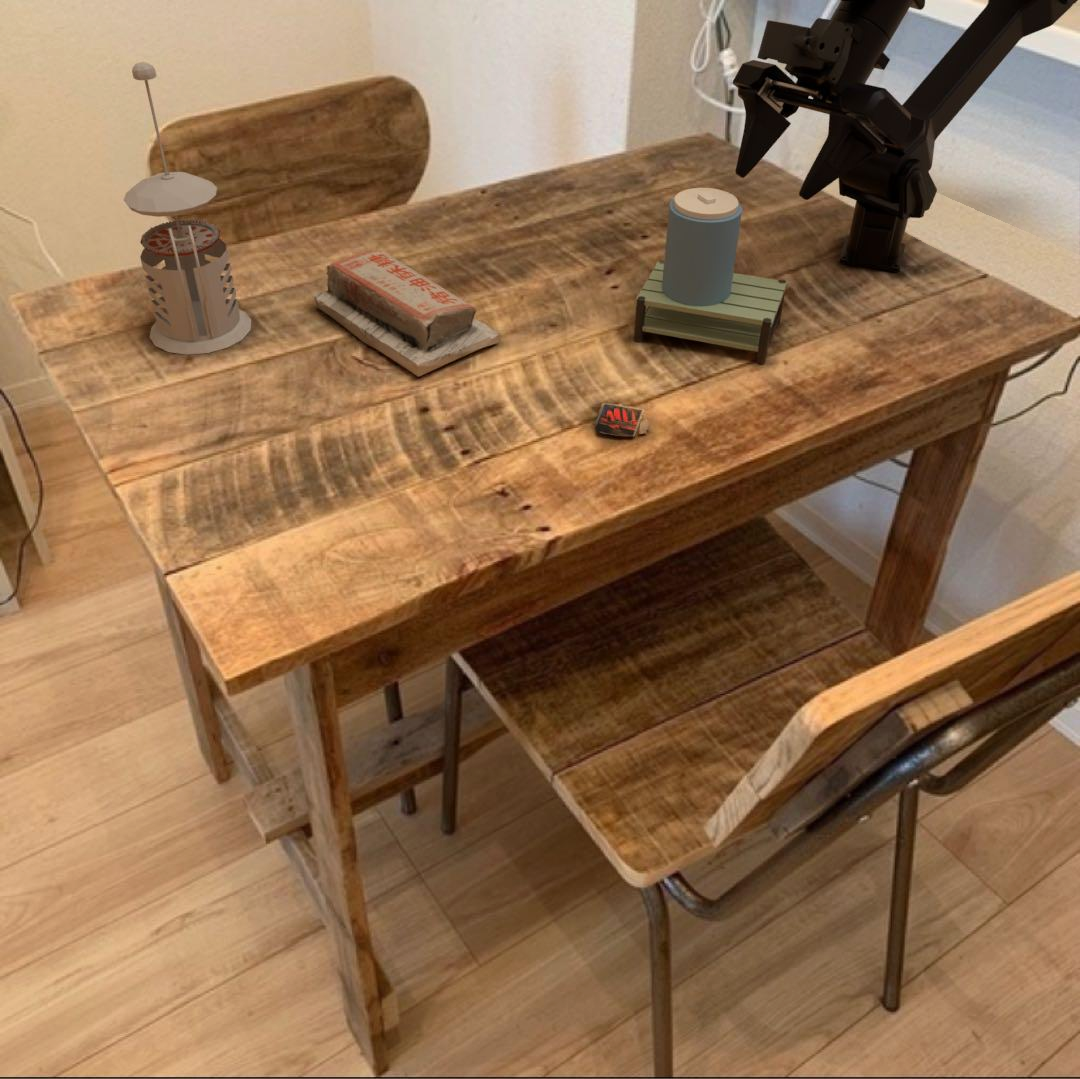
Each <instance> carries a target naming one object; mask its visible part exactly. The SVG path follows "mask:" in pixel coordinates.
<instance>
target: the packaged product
mask: <svg viewBox="0 0 1080 1079" xmlns="http://www.w3.org/2000/svg"><path fill="white" fill-rule="evenodd" d="M325 274H326V275H327V281H326V286H327V290H325V291H322V292H320V291H318V292H317V293H316V294H315V295H314V304H315V307H316V308H317V309H318V310H320V311H322V312H323V313H325V314H326V315H328V316H329V317H331V318H332V319H334V320H335V321H336V322H337V323H338V324H340V325H341V326H342V327H344V328H345V329H346V330H348V332H350V333H351V334H353V335H354V336H355V337H356V338H357V339H359V340H360V341H361V342H362V343H364V344H366V345H368V346H369V347H372V348H373V349H375V350H377V351H378V352H380V353H381V354H383V355H385V356H386V357H388V358H389V359H391V360H392V361H394V362H395V363H396V364H399V366H401V367H403V368H404V369H406V370H407V371H409V372H410V373H412V374H414V375H415V376H416V377H418V378H419V377H422V376H423V375H426V374H428V373H430V372H432V371H435V370H436V369H439V368H441V367H443V366H445V365H447V364H449V363H451V362H454V361H456V360H459V359H461V358H463V357H465V356H467V355H469V354H472V353H474V352H477V351H479V350H481V349H483V348H486V347H490V346H492V345H493V346H494V345H496V344H498V343H499V341H500V332H499V331H496V330H494V329H492V328H490V327H489V326H488V324H485V323H484V322H482V321H480V320H478V319H475V315H476V313H477V309H476V308H475V307H474V306H473V305H471V304H470V303H469V302H467V301H466V300H464V299H462V298H460V297H459V296H457V295H455V294H454V293H452V292H451V291H449V290H448V289H446V288H444V287H442V286H441V285H439V284H438V283H436V282H434V281H432V280H430V279H429V278H428V277H426V276H424V275H423V274H420V273H419V272H418V271H416V270H414V269H413V268H411V267H409V266H408V265H406V264H404V263H403V262H401V261H400V260H398V259H396V258H395V257H393V256H391V255H390V254H388V253H387V252H385V251H382V250H377V249H365V250H364V251H362V252H357V253H356V254H352V255H351V256H346V257H343V258H342V259H339V260H337V261H333V262H331V263H329V265H328V264H327V266H326V273H325Z"/></svg>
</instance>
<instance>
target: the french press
mask: <svg viewBox="0 0 1080 1079" xmlns="http://www.w3.org/2000/svg"><path fill="white" fill-rule="evenodd" d="M131 73H132V77H133V80H135V81H144V84H145V88H146V93H147V98H148V102H149V106H150V111H151V116H152V120H153V124H154V129H155V132H156V137H157V143H158V147H159V152H160V155H161V161H162V164H163V169H164V172H159V173H157V174H153V175H152V176H151V175H150V176H148V177H146V178H143V179H141V180H140V181H138V183H136V184H135V185H133V187H131V188H130V189H129V190H127V192H125V195H124V198H123V201H124V203H125V205H126V206H127V207H128V209H130V211H132V212H134V213H137V214H139V215H142V216H150V217H156V218H157V217H158V218H159V217H162V218H163V217H175V220H173V221H170V220H169V221H166V222H162V223H160V224H157V225H155V226H153V227H152V226H151V227H150V228H149V229H148V230H147V231H145V232H144V233H143V234H141V238H140V242H139V243H140V245H142V247H143V249H142V251H141V254H140V256H139V258H140V263H141V266H142V270H143V271H144V272H145V273H146V274H147V275H144V278H145V282H146V284H147V285H148V286H149V287H148V288H147V290H148V293H149V294H148V295H149V296H150V297H151V300H150V302H151V306H152V308H153V310H155V311H153V315H154V318H155V323H154V324H153V325H152V326H151V328H150V333H149V339H150V340H151V342H152V343H153V345H154V346H155V347H157V348H159V349H161V350H163V351H166V352H167V353H174V354H179V355H180V354H181V355H188V356H189V355H201V354H209V353H210V354H211V353H213V352H218V351H220V350H223V349H224V350H225V349H227V348H230V347H232V346H233V345H235V344H237V343H239V342H240V341H242V340H244V339H245V337H246V336H247V335H248V334H249V333H250V332H251V330H252V319H251V318H250V317H249V315H248V314H247V313H246V311H244V310H242V309H240V307H239V301H238V299H237V298H236V297H237V291H236V287H235V286H234V283H235V282H234V276H233V275H231V273H232V266H231V263H230V262H229V258H230V255H229V250H228V245H227V243H226V242H225V241H223V239H221V238H220V235H221V230H220V229H219V228H218V227H217V226H216V225H215V224H213V223H210V222H208V221H205V220H199V219H197V220H196V219H189V218H188V219H187V220H186V219H183V220H182V219H180V220H179V216H181V215H187V214H190V213H193V212H196V211H198V210H200V209H202V208H205V207H206V206H207V205H208V204H210V203H211V202H212V201H213V200H214V199H215V197H216V196H217V191H218V187H217V186H216V185H215V183H213V182H212V181H210V180H208V179H205V178H203V177H200V176H198V175H195V174H191V173H188V172H186V171H185V172H184V171H169V170H168V166H167V162H166V158H165V153H164V149H163V144H162V140H161V135H160V130H159V126H158V121H157V117H156V113H155V108H154V104H153V99H152V95H151V94H152V93H151V90H150V85H149V81H150V80H153V79H155V78H157V75H158V74H157V71H156V69H155V67H154V65H152V64H151V63H149V62H146V61H141V62H136V63H135V64H134V65H133V66H132V69H131ZM168 171H169V172H168ZM205 255H207V256H210V257H213V258H217V259H216V260H215V259H214V261H211V260H208V259H206V256H205ZM163 261H164V266H163V267H162V268H157V267H156V266H157V265H159V264H160V263H162V262H163ZM224 271H225V273H224V274H225V275H222V273H223V272H224ZM155 281H156V282H157V283H158V284H157V285H156V284H154V282H155ZM227 283H229V284H228V286H227V287H225V286H226V284H227ZM156 294H159V295H160V297H158V296H157V295H156ZM229 295H231V296H230V298H228V297H229ZM159 306H161V307H162V309H161V308H160V307H159Z"/></svg>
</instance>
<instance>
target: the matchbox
mask: <svg viewBox="0 0 1080 1079" xmlns="http://www.w3.org/2000/svg"><path fill="white" fill-rule="evenodd" d="M644 413H645V409H644V408H638V407H634V406H626V405H623V404H622V403H619V404H616V403H615V404H614V403H606V402H603V403H601V404H600V409H599V410H598V414H597V415H598V416H597V418H596V419H595V422H594V423H595V432H596V433H601V434H605V435H611V436H616V437H635V435H636V434H638V435H643V434H647V433H648V431H650V430H651V429H650V428H651V427H650V421H649V419H648V418H645V419H644V420H642V419H643V415H644ZM647 430H648V431H647ZM604 437H606V436H604ZM609 438H610V439H612V437H609Z"/></svg>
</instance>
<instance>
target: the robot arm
mask: <svg viewBox="0 0 1080 1079" xmlns="http://www.w3.org/2000/svg"><path fill="white" fill-rule="evenodd" d="M1077 2H1078V0H987V4H986V5H985V7H983V8H984V9H983V10H982V11H981V12H979V14H978V16H977V17H976V18H974V20H973V21H972V23H970V25H969V26H968V27H967V28H966V29H965V30H964V32H963V33H962V34H961V35H960V36H959V38H958V39H957V40H956V41H955V42H954V44H952V46H951V47H950V48H949V49H948V50H947V52H946V53H945V54H944V55H943V57H941V59H940V60H939V61H938V62H937V64H936V65H935V66H934V67H933V68H932V70H931V71H930V72H928V74H927V75H926V76H925V77H924V78H923V80H922V81H921V82H920V83H919V84H918V86H917V87H916V88H915V89H914V91H913V92H912V93H911V94H910V95H909V96H908V97H907V99H906V100H905V101H904V102H903V103H901V102H899V101H898V100H897V99H896V98H895V97H894V96H893V94H891V93H890V91H888V89H886V88H885V87H881V86H876V85H872V84H867V81H868V80H869V78H870V76H871V75H872V73H873V71H874V70H875V69H878V70H882V71H885V69H886V67H887V66H888V65H889V62H890V60H891V58H889V57H888V55H886V53H884V52H885V50H886V49H887V47H888V45H889V44H890V42H891V40H892V38H893V37H894V35H895V33H896V32H897V30H898V28H899V26H900V25H901V23H902V22H903V20H904V18H905V17H906V14H907V13H908V11H909V10H910V9H914V10H919V11H921V10H923V9H924V8H925V6H926V0H839V3H838V5H837V6H836V8H835V10H834V12H833V14H832V15H831V17H830V18H821V17H818V18H816V19H815V20H814V22H813V23H812V25H811V26H810V27H808V26H802V25H799V24H792V23H787V22H781V21H774V20H769V19H768V20H767V21H766V24H765V27H764V32H763V35H762V39H761V43H760V45H759V49H758V53H757V57H756V58H757V59H759V60H756V59H752V60H751V59H750V60H749V61H746V62H743V63H741V66H740V67H739V69H738V71H737V73H736V75H735V77H734V78H733V80H732V85H733V86H734V87H736V88H737V96H738V97H739V98H740V100H742V103H743V106H744V111H745V119H744V126H743V133H742V137H741V142H740V147H739V152H738V156H737V161H736V166H735V170H734V172H735V174H736V175H737V176H738V177H739V178H742V179H744V178H745V177H747V175H749V173H751V171H753V170H754V168H755V167H756V166H757V165H758V164H759V163H760V161H761V160H762V159H763V158H764V157H765V156H766V155H767V153H768V152H769V151H770V150H771V149H772V147H773V146H774V145H775V144H776V143H777V141H778V140H779V139H780V138H781V137H782V135H783V134H784V133H785V132H786V131H787V129H788V128H790V126H791V124H792V122H790V120H788V118H789V117H791V116H793V115H794V114H796V113H797V111H798V110H799V108H803V109H807V110H810V111H814V112H819V113H823V114H826V115H828V132H827V137H826V139H825V141H824V142H823V145H822V146H821V148H820V150H819V151H818V154H817V155H816V157H815V160H814V161H813V163H812V165H811V167H810V169H809V171H808V172H807V174H806V176H805V178H804V180H803V182H802V185H801V188H800V189H799V191H798V196H799V197H800V198H801V199H803V200H805V201H808V200H810V199H812V198H813V197H814V196H816V195H817V194H818V193H819V192H821V191H823V190H824V189H826V187H828V186H829V185H831V184H833V183H834V182H835V181H836V180H837V179H838V192H839V193H838V194H839V195H840V196H842V197H847V198H849V199H851V200H855V205H854V210H853V214H852V219H851V225H850V229H849V232H848V233H849V234H848V235H846V236H845V239H844V241H843V245H842V249H841V251H840V255H839V259H838V262H839V263H841V264H845V265H851V266H857V267H858V266H859V267H864V268H870V269H878V270H883V271H889V272H900V271H901V267H902V261H903V259H904V258H903V257H904V252H905V247H906V244H904V243H903V241H904V237H905V234H906V229H907V225H908V220H909V219H921V218H924V216H925V213H926V211H929V210H930V208H931V206H932V204H933V202H934V200H935V197H936V195H937V192H938V189H937V186H936V183H935V182H934V180H933V178H932V176H931V174H930V171H931V169H932V167H933V160H934V153H935V144H936V140H937V139H938V137H940V135H941V134H942V133H943V131H944V130H945V129H946V128H947V127H948V126H949V124H950V123H951V122H952V121H953V120H954V118H955V117H957V115H958V114H959V113H960V111H961V110H962V109H963V108H964V106H966V104H967V103H968V102H969V101H970V99H971V98H972V97H973V96H974V95H975V93H977V91H978V90H979V89H980V88H981V87H982V86H983V84H984V83H985V82H986V81H987V79H988V78H989V77H990V76H991V75H992V73H993V72H994V71H996V69H997V68H998V67H999V65H1000V64H1001V63H1002V62H1003V61H1004V60H1005V58H1006V57H1007V56H1008V54H1010V53H1011V51H1012V50H1013V49H1014V48H1015V47H1016V45H1017V44H1018V43H1019V42H1020V41H1021V40H1022V39H1023V38H1025V37H1027V36H1030V35H1032V34H1034V33H1038V32H1040V31H1042V30H1045V29H1047V28H1050V27H1051V26H1054V24H1055V23H1056V22H1057V21H1058V20H1059V19H1060V18H1061V17H1063V15H1065V13H1066V12H1068V11H1069V10H1070V9H1071V8H1072V7H1073V5H1075V4H1076V3H1077ZM768 59H770V60H773V61H777V63H779V64H783V65H785V67H784V70H785V71H786V72H787V73H788V74H789V75H791V76H793V77H795V78H796V81H794V80H793V79H792V78H791V77H789V75H788V74H786V73H785V72H784V71H783V70H782V69H781V68H780V67H779V66H778V65H777V64H774V63H770V62H765V61H767V60H768ZM760 60H764V61H760ZM810 97H811V98H810Z"/></svg>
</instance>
